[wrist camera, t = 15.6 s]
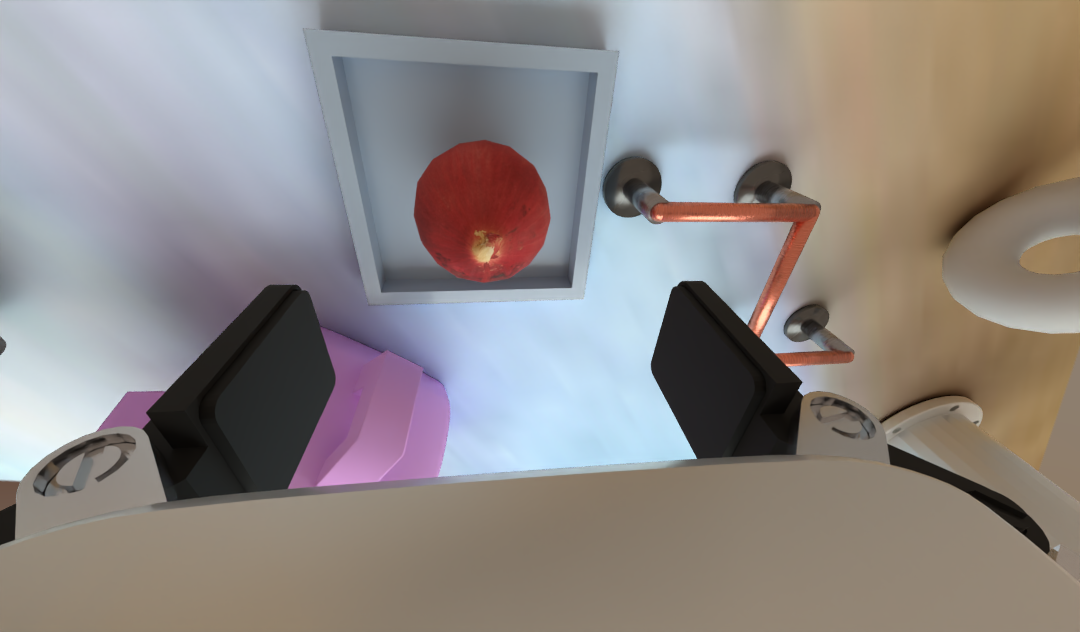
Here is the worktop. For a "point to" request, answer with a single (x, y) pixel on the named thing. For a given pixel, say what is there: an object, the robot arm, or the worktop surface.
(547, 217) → the onion
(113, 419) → the teakettle
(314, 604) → the robot arm
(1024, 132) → the worktop surface
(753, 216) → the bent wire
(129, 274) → the worktop surface
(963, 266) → the donut
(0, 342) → the bluetooth speaker
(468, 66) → the dish
